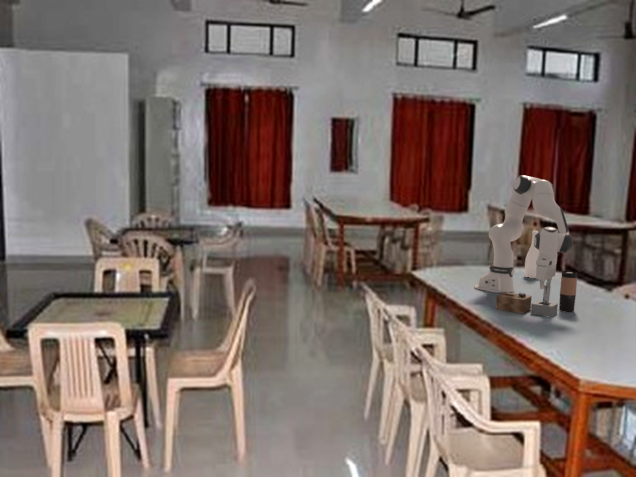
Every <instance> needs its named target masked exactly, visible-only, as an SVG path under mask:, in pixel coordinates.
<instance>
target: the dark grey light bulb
mask: <svg viewBox="0 0 636 477" xmlns="http://www.w3.org/2000/svg"><path fill="white" fill-rule="evenodd" d="M517 294H518V296H520V298H524V297H525V296H526V295H527V293H525V292H518V293H517Z"/></svg>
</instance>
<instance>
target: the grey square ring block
mask: <svg viewBox="0 0 636 477" xmlns="http://www.w3.org/2000/svg"><path fill="white" fill-rule="evenodd" d="M542 303H543V300H536V301H534V302H531V309H530V314H533V315H537V316H543V317H544V316H545V317H548V318H549V317H550V318H551V317H553V316H555V315H556V314H557V313H558V307H559V306H558V305H559V304H558V303H557V302H552V301H551V302H550V301H549V305H544V304H542Z"/></svg>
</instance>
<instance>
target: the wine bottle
mask: <svg viewBox="0 0 636 477" xmlns="http://www.w3.org/2000/svg"><path fill="white" fill-rule="evenodd" d="M537 233H539V231H538V230H532V232H531V234H532V236H531V238H532V239H531V245H530V246H529V249H528V251H527V254H526V257H525V260H524V261H525V262H524V275H523V276H524V277H525V278H527V277H529V278H528V279H536V267H537V265H536V260H537V259H538V256H539V251H540V250H538V249H536V248H535V246H534V240H535V235H536V234H537Z"/></svg>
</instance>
